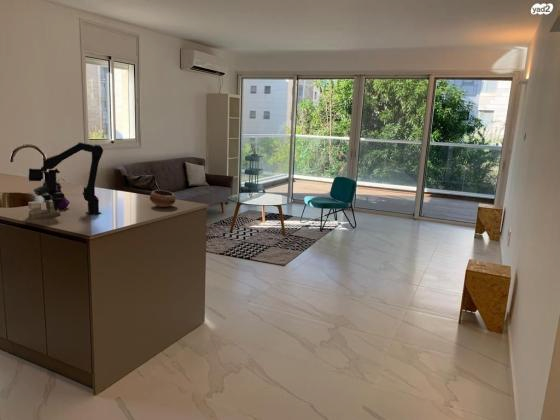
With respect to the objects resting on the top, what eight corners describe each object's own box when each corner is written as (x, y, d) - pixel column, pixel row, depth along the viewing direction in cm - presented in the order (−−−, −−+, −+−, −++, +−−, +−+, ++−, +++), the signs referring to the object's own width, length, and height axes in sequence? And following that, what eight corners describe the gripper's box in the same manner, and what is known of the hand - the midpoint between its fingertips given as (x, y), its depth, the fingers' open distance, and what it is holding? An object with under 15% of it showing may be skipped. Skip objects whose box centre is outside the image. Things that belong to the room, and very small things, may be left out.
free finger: (57, 211, 243) (57, 201, 242) (49, 212, 239) (49, 202, 238) (53, 210, 246) (53, 199, 245) (45, 211, 243) (45, 200, 241)
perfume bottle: (53, 209, 255) (51, 179, 252) (56, 207, 262) (55, 177, 259) (66, 210, 257) (65, 179, 253) (70, 207, 264) (69, 177, 260)
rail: (60, 215, 244) (59, 201, 242) (33, 218, 233) (32, 203, 231) (55, 213, 247) (54, 199, 246) (28, 216, 237) (28, 202, 235)
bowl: (168, 210, 272) (168, 194, 270) (145, 207, 275) (145, 192, 273) (179, 205, 287) (179, 190, 285) (157, 203, 290) (157, 188, 288)
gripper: (27, 179, 239) (29, 207, 242) (42, 184, 227) (44, 213, 231) (49, 178, 247) (50, 205, 251) (64, 182, 236) (65, 211, 239)
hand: (52, 208), depth 243 cm, fingers open, 9 cm apart
